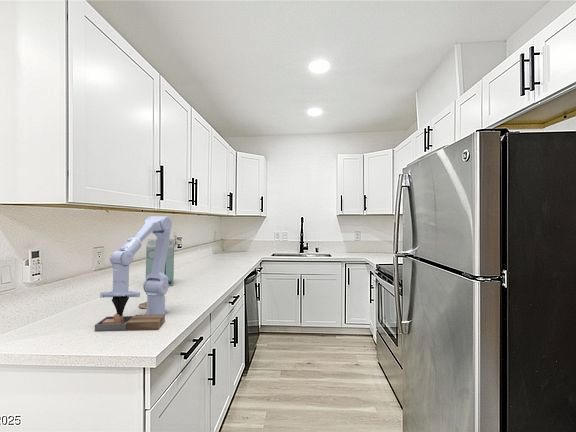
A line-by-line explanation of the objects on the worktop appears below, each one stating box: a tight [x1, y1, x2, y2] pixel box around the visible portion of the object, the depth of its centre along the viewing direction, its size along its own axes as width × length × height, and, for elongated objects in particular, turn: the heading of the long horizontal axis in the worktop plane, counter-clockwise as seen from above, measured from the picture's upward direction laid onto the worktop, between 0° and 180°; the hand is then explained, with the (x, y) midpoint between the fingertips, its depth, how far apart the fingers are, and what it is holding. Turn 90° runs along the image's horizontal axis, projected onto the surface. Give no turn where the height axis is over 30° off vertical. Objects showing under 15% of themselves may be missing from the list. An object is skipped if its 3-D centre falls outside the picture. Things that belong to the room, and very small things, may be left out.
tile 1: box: [102, 319, 115, 324], centre depth 142 cm, size 4×4×2 cm
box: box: [94, 315, 135, 332], centre depth 142 cm, size 12×11×2 cm
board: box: [126, 313, 166, 332], centre depth 144 cm, size 12×12×3 cm
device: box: [145, 238, 175, 287], centre depth 235 cm, size 16×8×30 cm, turn 104°
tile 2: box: [113, 312, 124, 324], centre depth 142 cm, size 4×4×2 cm
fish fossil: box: [138, 301, 147, 310], centre depth 185 cm, size 26×10×1 cm, turn 6°
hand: (119, 315), depth 142 cm, fingers closed, pressing on tile 2
